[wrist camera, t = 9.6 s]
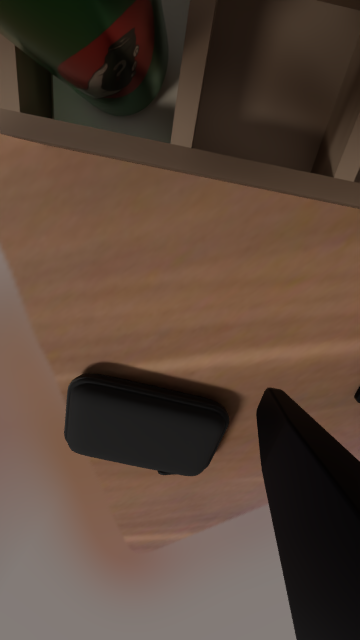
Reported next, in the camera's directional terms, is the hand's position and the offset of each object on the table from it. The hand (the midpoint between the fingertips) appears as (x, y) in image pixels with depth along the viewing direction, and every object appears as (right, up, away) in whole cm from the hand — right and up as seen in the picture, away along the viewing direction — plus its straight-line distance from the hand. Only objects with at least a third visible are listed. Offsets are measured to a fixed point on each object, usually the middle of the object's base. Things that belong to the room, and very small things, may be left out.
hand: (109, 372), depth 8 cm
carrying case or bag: (-1, -8, +20) cm, 21 cm away
